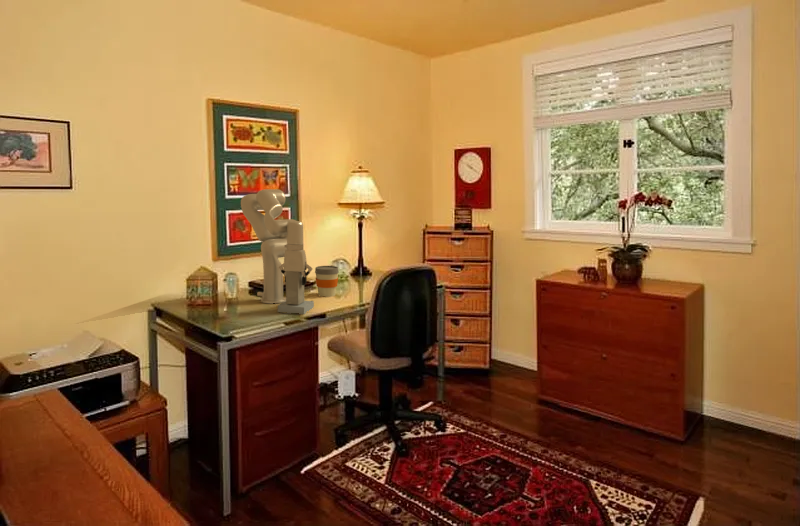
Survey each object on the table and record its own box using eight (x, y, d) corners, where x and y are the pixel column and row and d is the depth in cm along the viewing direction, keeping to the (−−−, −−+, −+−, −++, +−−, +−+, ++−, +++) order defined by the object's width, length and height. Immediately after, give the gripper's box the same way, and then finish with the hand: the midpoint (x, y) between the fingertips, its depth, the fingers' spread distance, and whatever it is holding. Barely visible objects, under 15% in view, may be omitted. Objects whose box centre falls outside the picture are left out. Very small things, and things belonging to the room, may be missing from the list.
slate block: (277, 313, 255) (277, 305, 254) (288, 307, 267) (288, 299, 267) (304, 315, 252) (304, 307, 252) (313, 309, 265) (313, 301, 264)
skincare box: (298, 305, 255) (299, 272, 252) (284, 304, 256) (284, 271, 253) (305, 301, 263) (305, 269, 260) (291, 300, 264) (291, 268, 262)
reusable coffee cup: (319, 291, 300) (319, 265, 298) (341, 293, 298) (341, 266, 295) (311, 296, 288) (311, 268, 286) (334, 298, 286) (334, 270, 283)
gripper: (274, 247, 253) (275, 284, 256) (309, 249, 250) (310, 287, 252) (281, 245, 260) (281, 281, 263) (315, 247, 257) (315, 283, 260)
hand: (295, 284), depth 258 cm, fingers open, 7 cm apart
